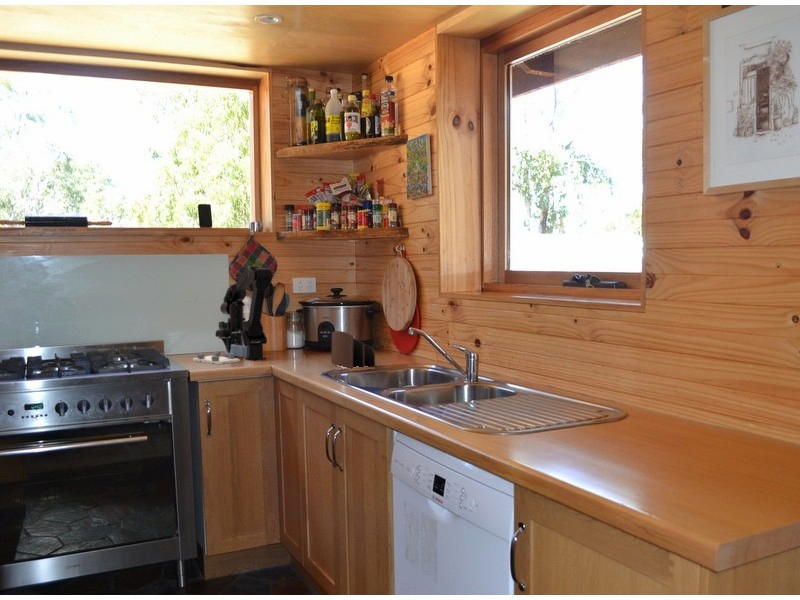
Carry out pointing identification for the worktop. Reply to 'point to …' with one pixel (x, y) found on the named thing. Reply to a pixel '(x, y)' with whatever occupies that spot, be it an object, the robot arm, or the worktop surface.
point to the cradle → (216, 358)
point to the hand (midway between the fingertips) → (237, 351)
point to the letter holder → (350, 351)
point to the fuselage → (237, 350)
